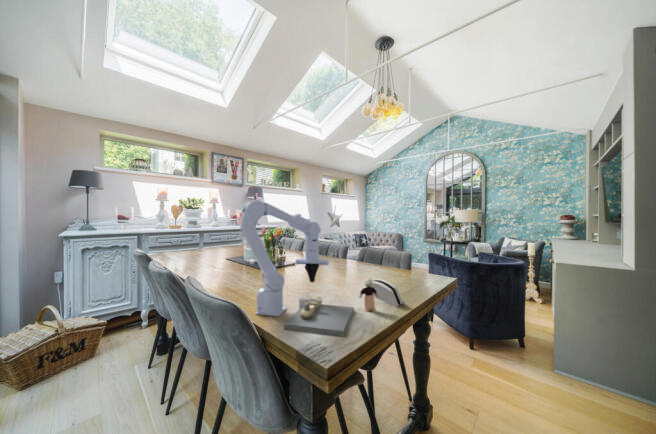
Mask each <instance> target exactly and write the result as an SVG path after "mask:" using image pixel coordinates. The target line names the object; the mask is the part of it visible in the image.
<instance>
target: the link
mask: <svg viewBox="0 0 656 434" xmlns="http://www.w3.org/2000/svg"><path fill="white" fill-rule="evenodd" d="M311 299H322V297H321V296H313V297H312V298H311ZM318 306H319V304H313V303H308V304H305V305H304V308H303V309H301V317H302V318H311V317H313V313H314V311H315V310H316V308H317V307H318Z"/></svg>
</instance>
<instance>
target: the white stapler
mask: <svg viewBox="0 0 656 434" xmlns="http://www.w3.org/2000/svg"><path fill="white" fill-rule="evenodd" d="M372 281H373V284H372V285H371V287H373V288H374V289H375V290H376V291H377V293H378V295H379V297H376V295H375V293H373V296H374V298H377V299H379V300H381V301H382V302H385V303H387V304H390V305H392V306H393V307H396V308H398V307H399V306H400V305H404V306H405V305H406V301H405V300H404V299H402V297H401V294H400V292H399V289H398V287H396V286H395V285H394V284H392V283H391V282H389V281H387V280H384V279H379V278H378V279H374V280H372Z"/></svg>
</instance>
